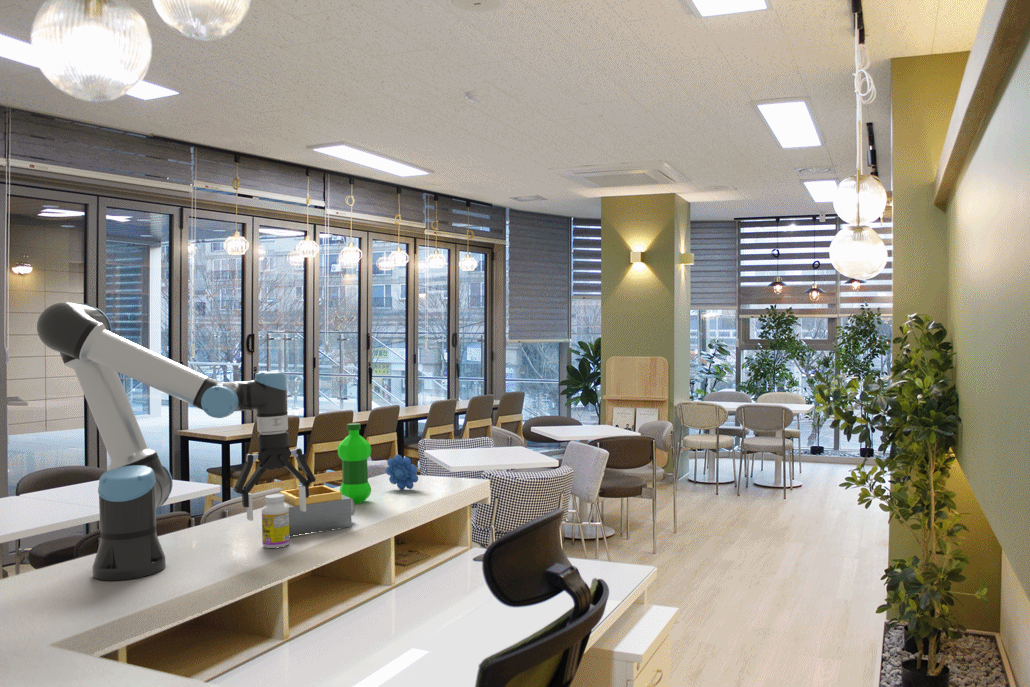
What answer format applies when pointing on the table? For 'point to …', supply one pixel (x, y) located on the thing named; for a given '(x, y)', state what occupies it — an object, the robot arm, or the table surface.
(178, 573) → the table surface
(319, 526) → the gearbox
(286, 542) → the supplement bottle
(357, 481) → the plastic bottle
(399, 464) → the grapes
